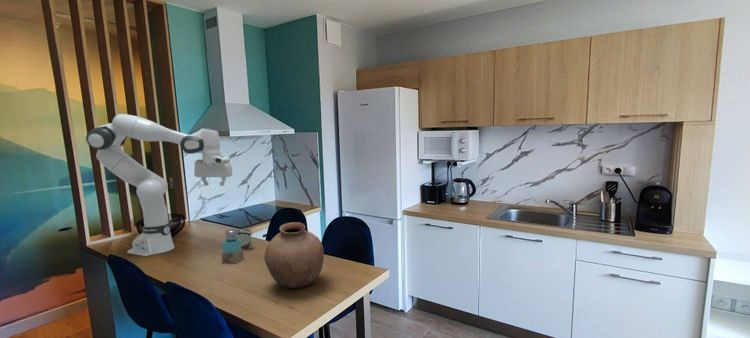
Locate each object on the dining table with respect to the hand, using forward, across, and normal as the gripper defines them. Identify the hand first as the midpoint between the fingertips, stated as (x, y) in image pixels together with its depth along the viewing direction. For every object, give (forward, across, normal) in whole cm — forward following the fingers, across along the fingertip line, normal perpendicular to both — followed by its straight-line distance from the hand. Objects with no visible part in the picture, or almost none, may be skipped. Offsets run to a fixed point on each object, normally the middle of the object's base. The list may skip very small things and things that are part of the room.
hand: (214, 185), depth 188 cm
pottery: (+34, +60, -36) cm, 78 cm away
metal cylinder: (+24, +18, -15) cm, 34 cm away
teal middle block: (+29, +18, -15) cm, 38 cm away
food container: (+34, +13, +2) cm, 37 cm away
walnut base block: (+34, +18, -15) cm, 42 cm away
